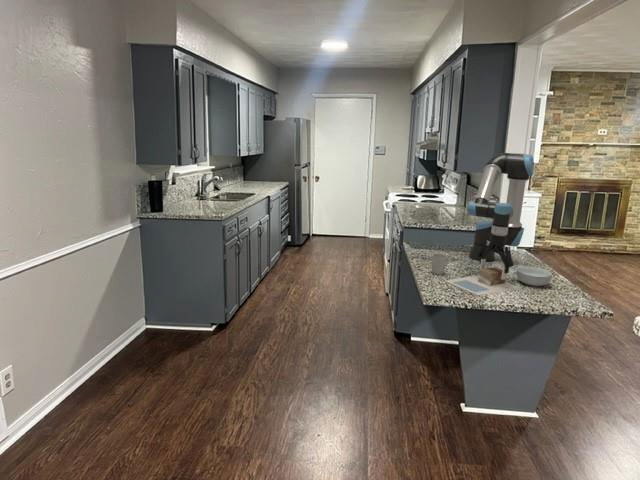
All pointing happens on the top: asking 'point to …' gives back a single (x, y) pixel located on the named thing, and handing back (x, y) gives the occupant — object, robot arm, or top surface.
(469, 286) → the mat
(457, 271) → the top surface
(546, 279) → the cereal bowl
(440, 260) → the cup
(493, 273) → the block
